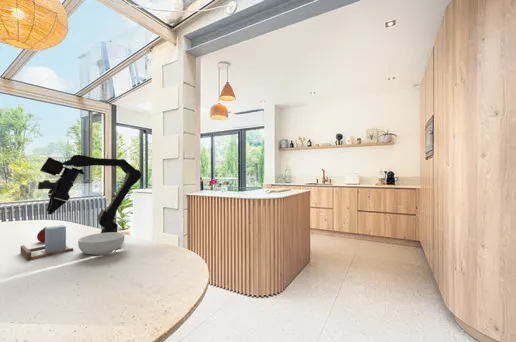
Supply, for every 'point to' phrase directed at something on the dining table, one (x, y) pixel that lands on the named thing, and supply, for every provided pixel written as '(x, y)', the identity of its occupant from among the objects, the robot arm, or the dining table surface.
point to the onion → (41, 235)
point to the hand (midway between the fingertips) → (48, 212)
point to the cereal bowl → (101, 243)
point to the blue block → (55, 238)
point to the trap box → (31, 256)
